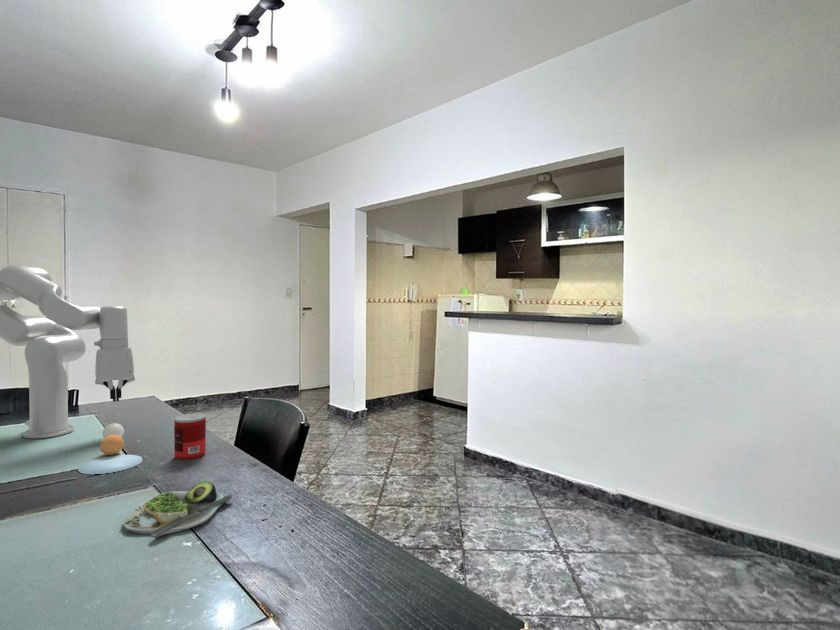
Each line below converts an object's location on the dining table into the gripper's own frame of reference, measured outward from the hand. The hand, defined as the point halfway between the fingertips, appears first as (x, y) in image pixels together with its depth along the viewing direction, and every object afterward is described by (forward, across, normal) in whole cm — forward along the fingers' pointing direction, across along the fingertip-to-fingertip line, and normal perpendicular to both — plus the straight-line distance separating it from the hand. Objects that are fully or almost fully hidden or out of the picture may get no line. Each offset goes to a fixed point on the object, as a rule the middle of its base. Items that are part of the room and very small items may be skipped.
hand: (116, 400), depth 144 cm
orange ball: (+8, -1, -22) cm, 24 cm away
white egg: (+8, -1, -8) cm, 12 cm away
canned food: (+12, +18, -34) cm, 40 cm away
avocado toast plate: (+13, +11, -71) cm, 73 cm away
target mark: (+11, -1, -32) cm, 33 cm away
